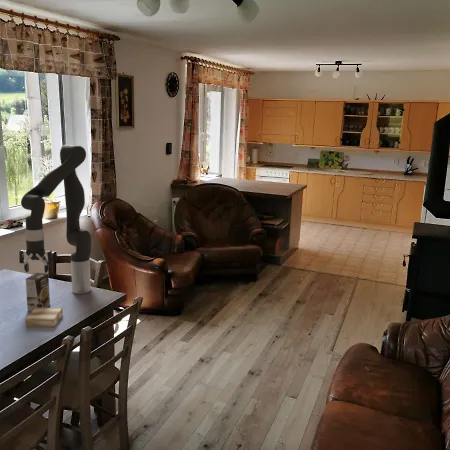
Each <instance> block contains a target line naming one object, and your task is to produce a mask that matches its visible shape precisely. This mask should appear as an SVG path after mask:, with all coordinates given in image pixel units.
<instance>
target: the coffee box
mask: <svg viewBox="0 0 450 450" xmlns="http://www.w3.org/2000/svg"><path fill="white" fill-rule="evenodd" d="M25 289H26V290H25V291H26V305H27V307H26V308H27V312H32V311H33V310H34V309H35V307H45V308H49V306H50V307H51V297H50V279H49V273H45V272H36V273H34V274H32V275H30V276H28V277H27V278H25Z"/></svg>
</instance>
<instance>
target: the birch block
mask: <svg viewBox="0 0 450 450" xmlns="http://www.w3.org/2000/svg"><path fill="white" fill-rule="evenodd" d="M63 313H64V312H63V307H47V308H45V307H35V309H34V310H33V311H30V312H29V314H28V315H27V317H25V327H27V328H28V327H29V328H32V327H33V328H55V327H56V325H57V324H58V322H59V321H60V319H62V317H63V315H64V314H63Z"/></svg>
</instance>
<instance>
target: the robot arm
mask: <svg viewBox="0 0 450 450" xmlns="http://www.w3.org/2000/svg"><path fill="white" fill-rule="evenodd" d="M86 157H87V152H86V149H85V148H84V147H83V146H81V145H77V144H64V145H62V146H61V147H60V152H59V158H60V159H59V161H60V164H61V165H58V167H55V168H54V169H53V170H51V171H50V172H49V171H48V173H46V174H45V175H44V176H43V178H42V179H41V180H40V181H39V182H38V183H37V185H35V186H34V187H33V188H31V189H30V190H29V191H27V192H26V193H25V194H24V195H23V196H22V198H21V199H20V200H21V201H20V205H21V207H22V208H23V209H25V210H27V211H30V215H28V216H26V217H25V245H26V250H24V249H21V250H19V257H18V258H19V264H22V265H23V267H24V268H23V269H24V271H25V273H28V272H29V271H30V268H29V267H30V265H29V262H30V261H41V262H42V263H43V264H44V273H46V274H48V272H49V271H50V268H49V267H50V266H49V265H51V264H52V263H53V262H54V260H53V259H54V258H53V251H52V250H51V249H50V250H45V236H44V235H45V233H44V228H43V227H44V226H43V225H44V224H43V218H44V214H45V210H46V209H45V208H46V202H45V200H44V198H47V197H49V196H51V195H52V193H53V192H54V191H55V190H56V189H57V187H58V186H59V185H60V184H61V183H62V182H63V187H64V199H65V210H66V211H65V212H66V215H65V216H66V229H65V230H66V231H65V232H66V234H65V235H66V236H65V237H66V242H67V244H69V245H70V246H74V247H75V252H72V253H71V255H70V266H71V267H70V272H71V273H70V274H71V292H72V293H74V294H78V295H82V294H87V293H89V292H90V291H91V290H92V289H91V286H92V285H91V264H90V263H91V262H90V261H91V259H90V256H91V253H92V235H91V233H90V231H88V230H86V229H84V228H81V225H80V218H81V214H82V212H83V210H84V208H85V205H86V204H85V203H86V200H85V197H86V196H85V195H86V194H85V190H84V187H83V184H82V183H81V181H80V179H79V177H78V174H77V171H76V169H77V168H78V167H80V166H81V165H82V163H84V162H85V160H86ZM25 255H26V256H27V258H25ZM45 255H46V256H47V257H46V256H45Z"/></svg>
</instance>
